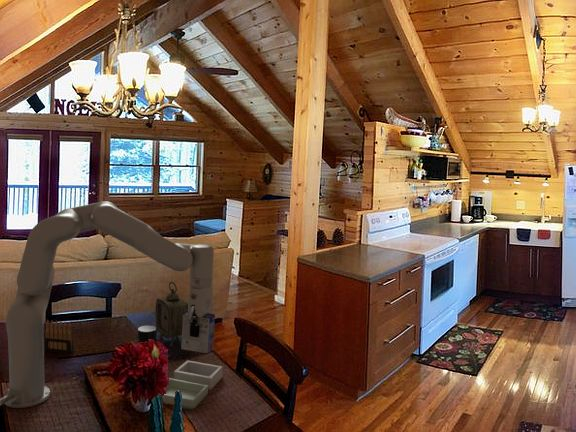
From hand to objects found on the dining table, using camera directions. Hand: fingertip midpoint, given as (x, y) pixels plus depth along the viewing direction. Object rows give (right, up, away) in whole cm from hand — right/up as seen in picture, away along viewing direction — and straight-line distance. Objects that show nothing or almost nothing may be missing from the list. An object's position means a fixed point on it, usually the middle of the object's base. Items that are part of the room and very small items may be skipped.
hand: (198, 332), depth 165 cm
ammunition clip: (-57, -12, +20) cm, 61 cm away
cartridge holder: (0, -17, +2) cm, 17 cm away
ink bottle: (-22, -14, +16) cm, 31 cm away
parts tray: (-4, -18, -10) cm, 21 cm away
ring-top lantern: (-17, -12, +35) cm, 40 cm away
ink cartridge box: (0, -6, +1) cm, 6 cm away
